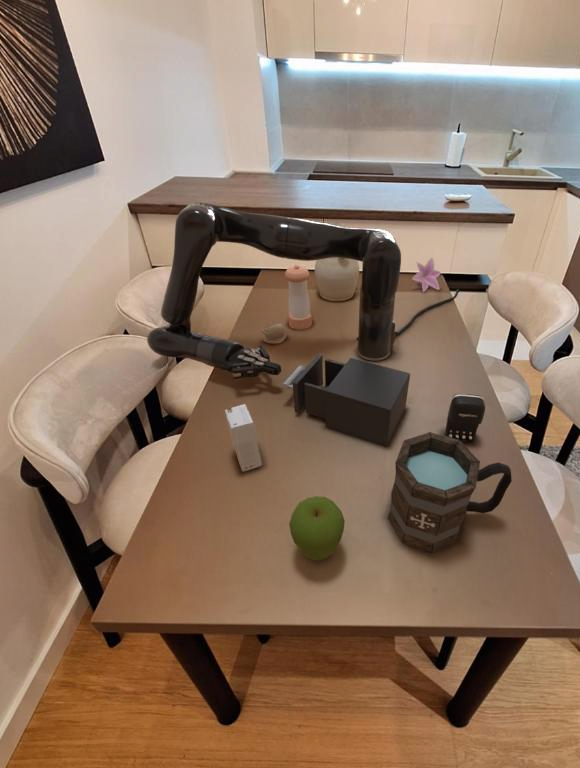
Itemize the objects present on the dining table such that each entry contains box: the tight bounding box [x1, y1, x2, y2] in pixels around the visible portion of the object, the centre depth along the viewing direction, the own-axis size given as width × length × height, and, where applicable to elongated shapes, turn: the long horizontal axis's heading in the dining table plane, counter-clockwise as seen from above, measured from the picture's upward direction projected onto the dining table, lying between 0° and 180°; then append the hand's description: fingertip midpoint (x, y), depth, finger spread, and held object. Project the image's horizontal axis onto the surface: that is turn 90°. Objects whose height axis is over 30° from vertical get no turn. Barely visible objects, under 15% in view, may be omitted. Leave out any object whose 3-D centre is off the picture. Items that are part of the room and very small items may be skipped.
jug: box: [314, 222, 360, 302], centre depth 136 cm, size 15×16×25 cm
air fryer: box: [325, 357, 411, 447], centre depth 90 cm, size 15×14×11 cm
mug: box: [387, 431, 513, 554], centre depth 68 cm, size 20×14×15 cm
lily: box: [411, 257, 442, 293], centre depth 149 cm, size 12×12×10 cm
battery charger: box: [443, 393, 486, 443], centre depth 85 cm, size 7×4×11 cm, turn 83°
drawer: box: [281, 353, 346, 420], centre depth 93 cm, size 18×12×9 cm
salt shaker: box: [284, 264, 313, 331], centre depth 120 cm, size 7×7×19 cm
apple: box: [288, 495, 345, 561], centre depth 63 cm, size 9×8×12 cm
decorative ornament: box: [260, 323, 287, 345], centre depth 117 cm, size 4×8×5 cm, turn 129°
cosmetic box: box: [224, 403, 263, 472], centre depth 78 cm, size 6×4×12 cm
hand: (279, 370), depth 95 cm, fingers closed
